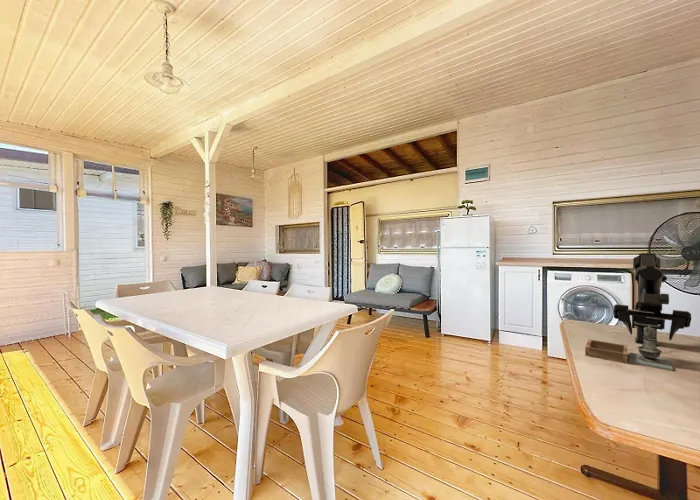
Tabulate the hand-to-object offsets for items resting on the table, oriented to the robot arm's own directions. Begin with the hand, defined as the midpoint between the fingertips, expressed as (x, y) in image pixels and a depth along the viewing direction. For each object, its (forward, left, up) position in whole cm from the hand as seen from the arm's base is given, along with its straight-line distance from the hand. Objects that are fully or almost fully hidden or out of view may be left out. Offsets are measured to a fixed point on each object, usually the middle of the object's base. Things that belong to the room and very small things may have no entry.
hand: (650, 336), depth 101 cm
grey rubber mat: (-1, 0, -9) cm, 9 cm away
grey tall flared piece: (-1, 0, -8) cm, 8 cm away
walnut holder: (0, -11, -9) cm, 14 cm away
